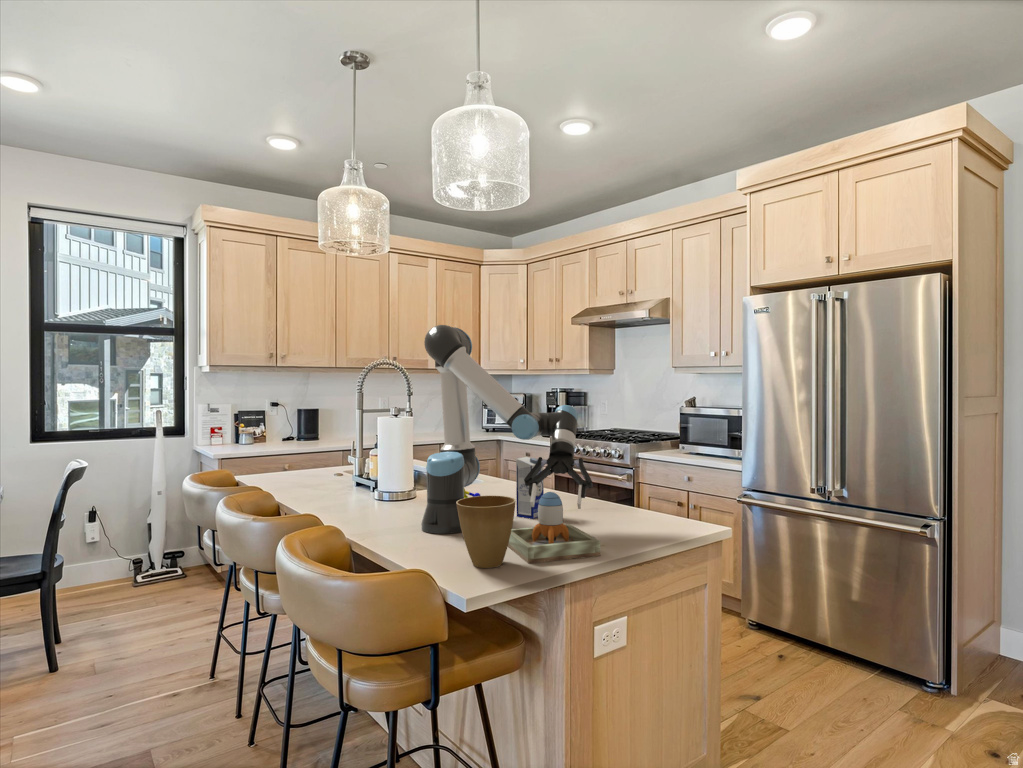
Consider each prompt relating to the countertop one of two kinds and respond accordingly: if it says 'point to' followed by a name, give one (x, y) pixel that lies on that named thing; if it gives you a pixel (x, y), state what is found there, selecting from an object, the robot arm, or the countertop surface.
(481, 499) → the plant pot
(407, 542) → the countertop surface
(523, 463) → the milk carton
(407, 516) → the countertop surface
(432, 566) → the countertop surface
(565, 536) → the toy rocket
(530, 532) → the cradle
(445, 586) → the countertop surface
